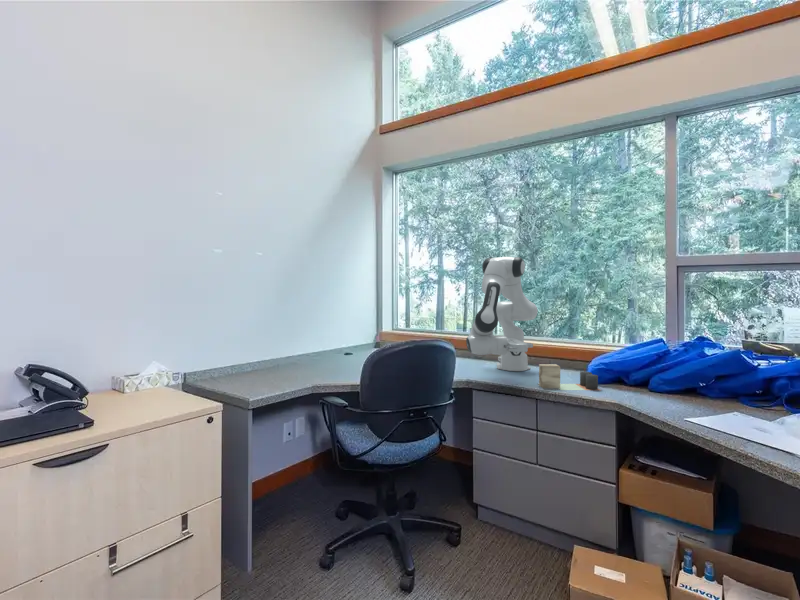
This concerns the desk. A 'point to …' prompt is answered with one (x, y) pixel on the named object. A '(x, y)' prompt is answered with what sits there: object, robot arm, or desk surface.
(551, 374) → the birch block
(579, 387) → the lane mat
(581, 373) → the post
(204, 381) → the desk surface
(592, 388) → the post
